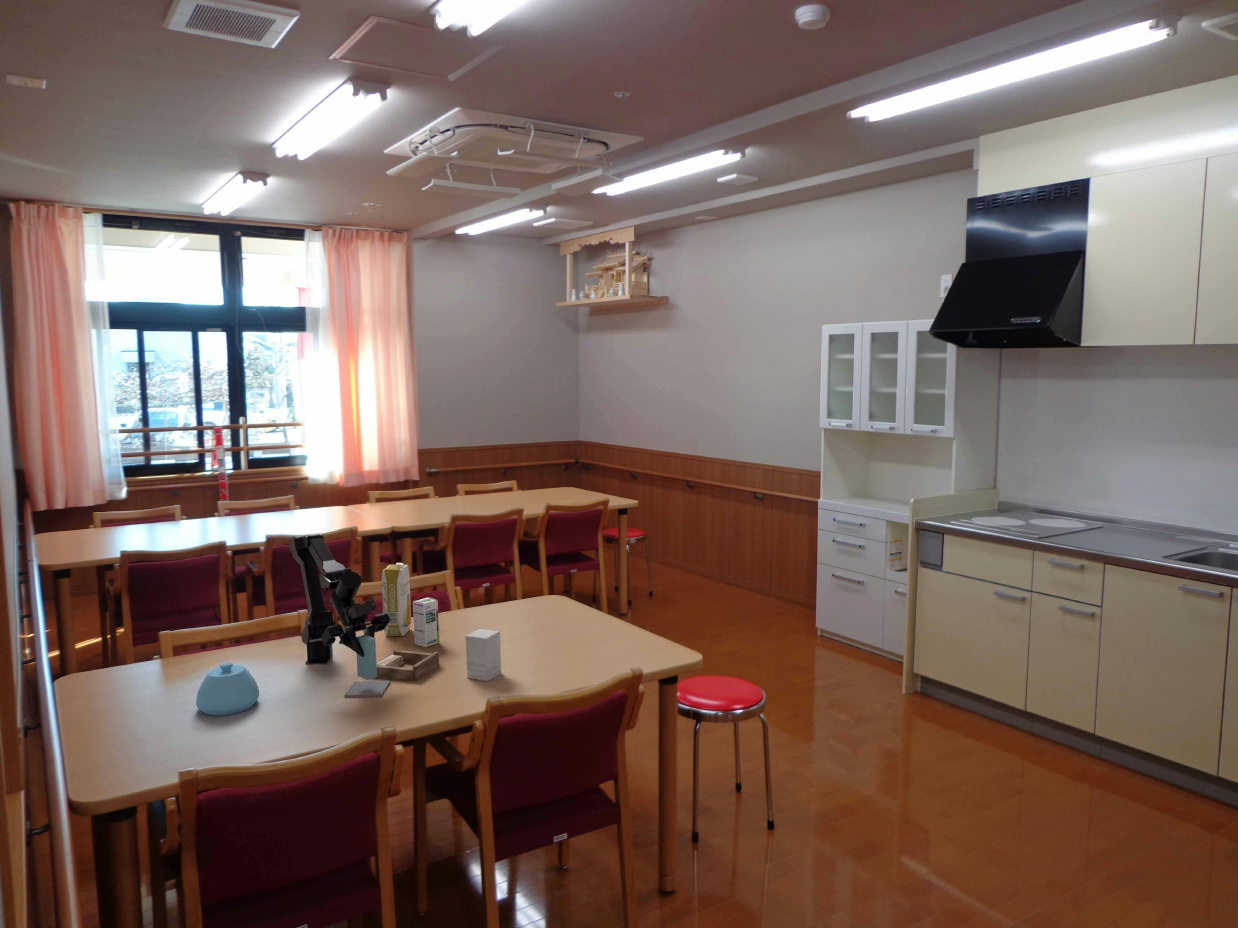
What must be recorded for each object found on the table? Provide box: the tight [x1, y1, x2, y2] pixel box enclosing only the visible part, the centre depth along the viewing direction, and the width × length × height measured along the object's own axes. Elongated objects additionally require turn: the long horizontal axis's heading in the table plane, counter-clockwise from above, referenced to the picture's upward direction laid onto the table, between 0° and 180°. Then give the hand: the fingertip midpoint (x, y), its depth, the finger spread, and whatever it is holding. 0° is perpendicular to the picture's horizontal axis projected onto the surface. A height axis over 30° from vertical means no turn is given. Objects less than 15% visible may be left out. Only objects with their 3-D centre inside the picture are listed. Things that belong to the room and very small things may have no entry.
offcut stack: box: [376, 655, 405, 667], centre depth 244 cm, size 4×10×3 cm, turn 164°
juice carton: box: [381, 562, 412, 637], centre depth 277 cm, size 9×8×24 cm
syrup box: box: [412, 597, 440, 648], centre depth 266 cm, size 6×6×14 cm
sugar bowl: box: [195, 662, 260, 717], centre depth 216 cm, size 15×15×12 cm
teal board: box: [356, 634, 378, 681], centre depth 226 cm, size 5×3×11 cm, turn 48°
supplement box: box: [465, 628, 502, 682], centre depth 237 cm, size 7×7×13 cm
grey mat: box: [343, 680, 391, 698], centre depth 227 cm, size 10×10×1 cm
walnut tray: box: [376, 649, 440, 681], centre depth 243 cm, size 16×14×4 cm
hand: (368, 654), depth 225 cm, fingers closed on teal board, 3 cm apart
